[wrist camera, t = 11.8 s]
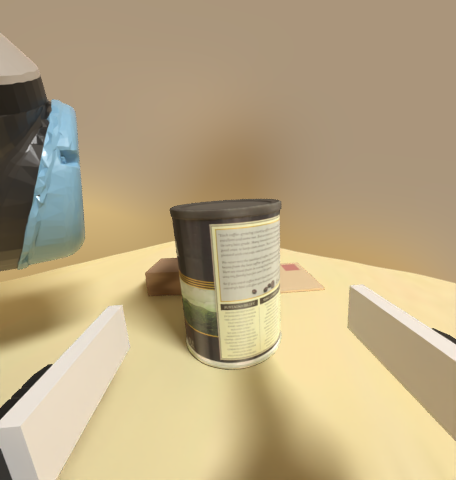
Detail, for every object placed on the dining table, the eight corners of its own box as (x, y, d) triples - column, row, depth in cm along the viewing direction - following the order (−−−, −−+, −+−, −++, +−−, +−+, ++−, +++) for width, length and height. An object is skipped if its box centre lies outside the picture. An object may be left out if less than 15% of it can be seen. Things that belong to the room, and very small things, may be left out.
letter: (216, 298, 32) (215, 296, 32) (216, 270, 43) (216, 268, 43) (324, 289, 33) (324, 287, 33) (297, 263, 44) (297, 262, 44)
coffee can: (168, 362, 21) (145, 211, 17) (205, 305, 30) (195, 201, 27) (281, 379, 18) (280, 205, 15) (282, 311, 28) (282, 197, 25)
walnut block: (148, 297, 34) (145, 273, 34) (163, 279, 41) (161, 258, 40) (193, 295, 34) (190, 271, 33) (201, 277, 41) (199, 257, 40)
